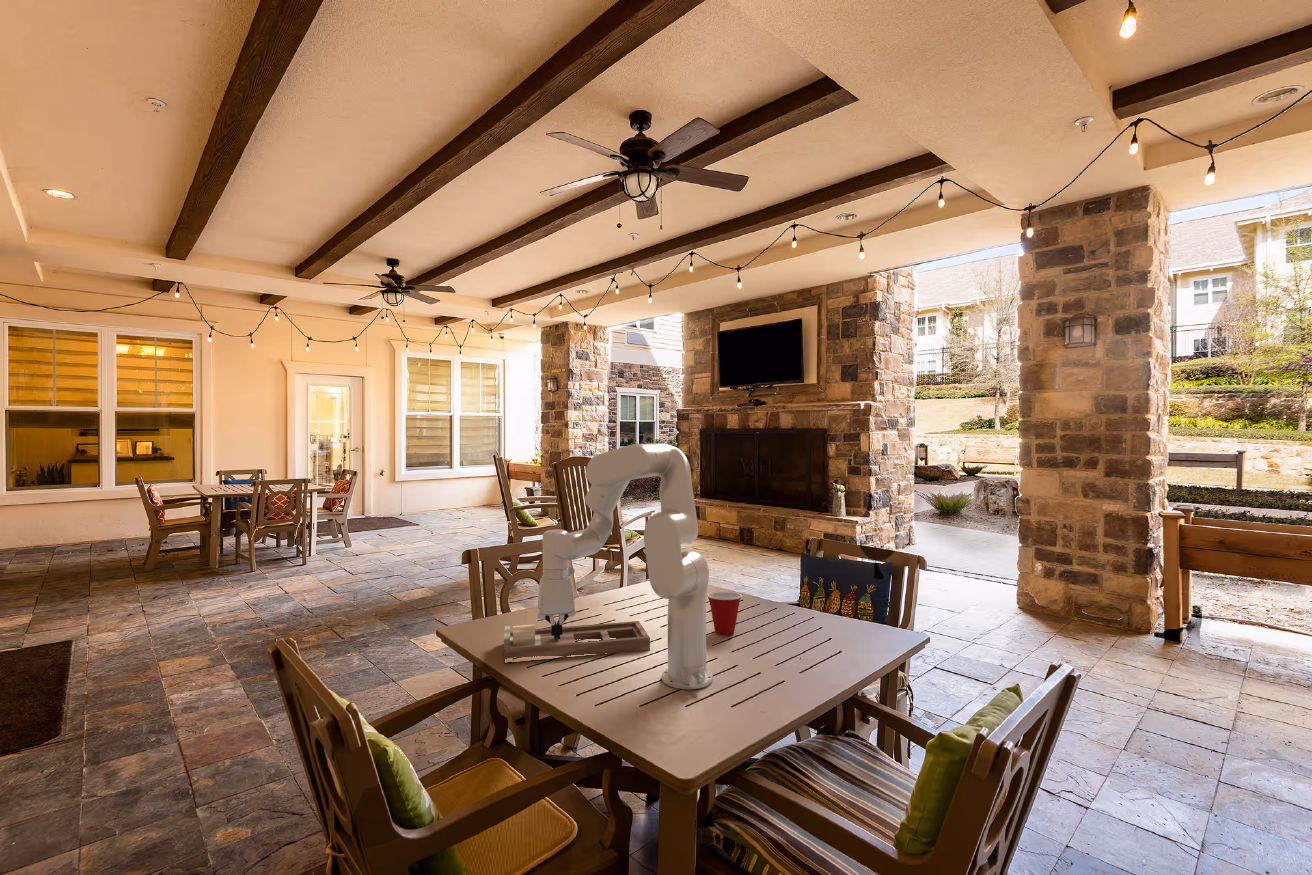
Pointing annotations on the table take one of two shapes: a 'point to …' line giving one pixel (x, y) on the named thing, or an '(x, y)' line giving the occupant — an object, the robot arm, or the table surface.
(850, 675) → the table surface
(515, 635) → the maple block
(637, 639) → the tray
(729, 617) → the plastic cup
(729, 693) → the table surface
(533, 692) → the table surface
